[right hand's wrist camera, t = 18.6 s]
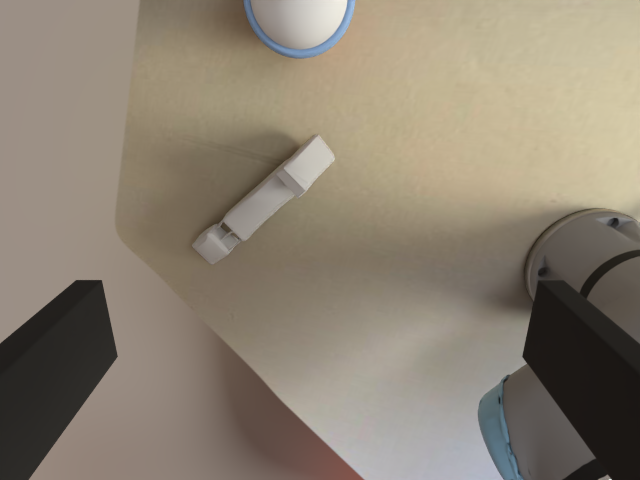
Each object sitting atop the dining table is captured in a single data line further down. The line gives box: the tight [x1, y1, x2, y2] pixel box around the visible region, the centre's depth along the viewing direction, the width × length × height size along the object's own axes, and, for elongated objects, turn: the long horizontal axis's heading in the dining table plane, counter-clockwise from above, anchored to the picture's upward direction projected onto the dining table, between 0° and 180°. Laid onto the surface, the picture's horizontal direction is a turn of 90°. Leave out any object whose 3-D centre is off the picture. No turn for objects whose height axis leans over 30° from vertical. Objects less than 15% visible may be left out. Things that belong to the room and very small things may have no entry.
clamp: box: [192, 134, 335, 265], centre depth 48 cm, size 20×4×7 cm, turn 131°
